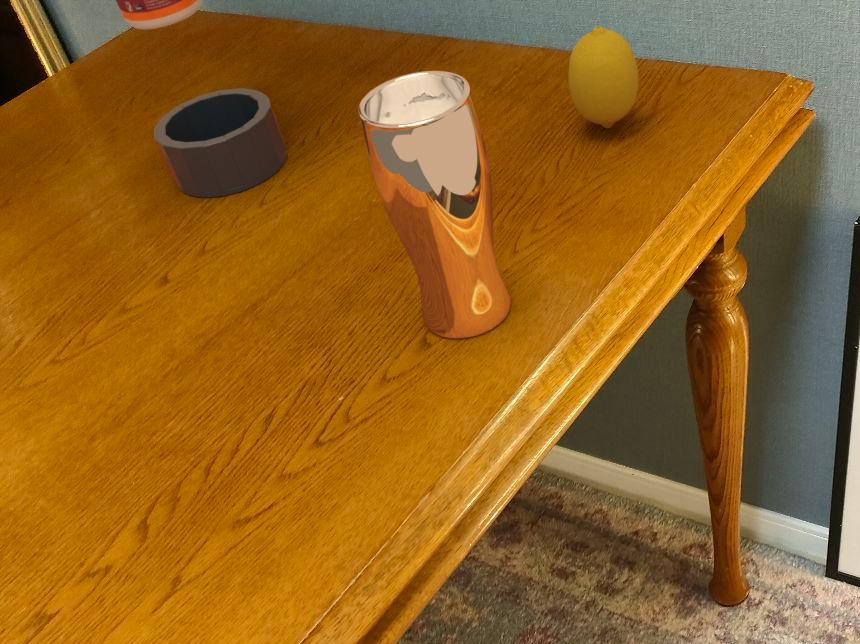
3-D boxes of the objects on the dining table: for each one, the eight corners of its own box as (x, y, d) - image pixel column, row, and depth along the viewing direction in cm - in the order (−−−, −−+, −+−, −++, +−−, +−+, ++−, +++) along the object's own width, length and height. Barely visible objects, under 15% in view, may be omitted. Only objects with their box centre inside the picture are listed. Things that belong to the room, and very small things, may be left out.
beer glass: (493, 349, 65) (442, 131, 54) (400, 337, 68) (332, 125, 56) (532, 286, 69) (492, 69, 58) (443, 276, 72) (388, 67, 60)
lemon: (567, 144, 81) (553, 44, 75) (585, 110, 85) (573, 12, 79) (633, 145, 80) (624, 43, 74) (649, 110, 83) (642, 10, 77)
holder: (153, 188, 87) (129, 139, 84) (227, 131, 92) (208, 83, 89) (236, 205, 83) (215, 154, 80) (310, 144, 88) (293, 94, 85)
